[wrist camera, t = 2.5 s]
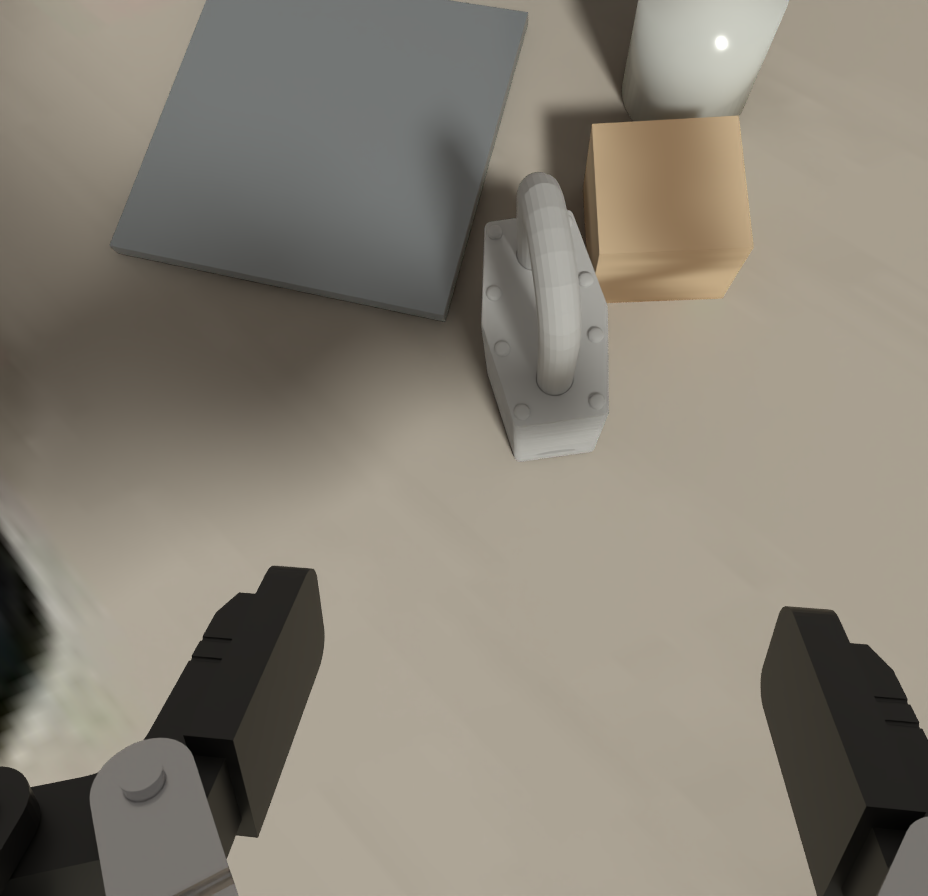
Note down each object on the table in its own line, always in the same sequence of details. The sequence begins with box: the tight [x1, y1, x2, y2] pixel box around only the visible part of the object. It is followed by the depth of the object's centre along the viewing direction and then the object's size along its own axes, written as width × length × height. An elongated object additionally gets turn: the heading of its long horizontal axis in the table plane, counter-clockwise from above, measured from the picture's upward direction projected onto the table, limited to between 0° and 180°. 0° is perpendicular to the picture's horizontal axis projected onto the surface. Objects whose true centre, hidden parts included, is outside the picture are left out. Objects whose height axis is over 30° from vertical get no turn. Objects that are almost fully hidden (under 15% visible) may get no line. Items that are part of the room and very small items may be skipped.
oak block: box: [583, 115, 754, 303], centre depth 27 cm, size 5×5×4 cm
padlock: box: [481, 172, 609, 462], centre depth 23 cm, size 7×4×10 cm, turn 7°
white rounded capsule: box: [622, 0, 789, 121], centre depth 28 cm, size 5×5×5 cm
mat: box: [110, 0, 528, 322], centre depth 30 cm, size 14×14×1 cm
